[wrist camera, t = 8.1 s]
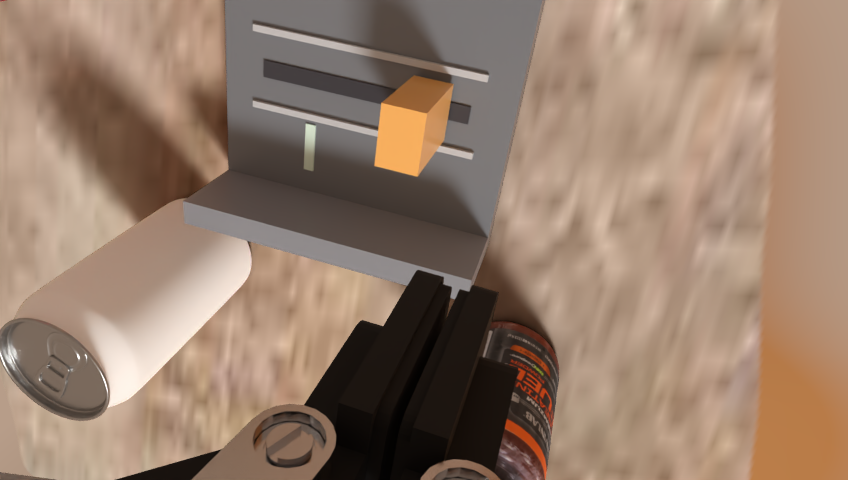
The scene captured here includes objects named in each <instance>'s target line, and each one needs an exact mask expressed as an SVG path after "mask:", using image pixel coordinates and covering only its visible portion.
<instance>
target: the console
mask: <svg viewBox="0 0 848 480" xmlns="http://www.w3.org/2000/svg"><path fill="white" fill-rule="evenodd" d="M544 3H545V0H225V28H226V73H227V118H228V163H229V170H228V171H226V172H225V173H223V174H222V175H220V176H219V177H217V178H216V179H215V180H213V181H212V182H210V183H209V184H207V185H206V186H204V187H203V188H201V189H200V190H198V191H197V192H196V193H194V194H193V195H191V196H190V197H188V198H187V199H185V200H184V201H183V208H184V223H186V224H189V225H193V226H196V227H200V228H203V229H207V230H210V231H214V232H218V233H221V234H225V235H228V236H232V237H235V238H239V239H242V240H246V241H250V242H253V243H257V244H260V245H264V246H267V247H271V248H274V249H278V250H282V251H285V252H289V253H292V254H296V255H299V256H303V257H306V258H310V259H313V260H317V261H321V262H324V263H328V264H331V265H335V266H338V267H342V268H345V269H349V270H353V271H356V272H360V273H363V274H367V275H370V276H374V277H377V278H381V279H385V280H388V281H392V282H395V283H399V284H402V285H406V286H407V285H408V284H409V282H410V280H411V279H412V277H413V275H414V274H415V272H416V271H417V270H421V271H425V272H428V273H432V274H435V275H439V276H442V277H444V283H443V284H444V285H448V286H451V287H452V292H451V297H450V298H452V299H455V298H456V296H457V294H458V292H459V290H460V289H462V290H465V291H470V288H471V286H472V285H474V282H475V279H476V277H477V274H478V271H479V269H480V266H481V263H482V261H483V258H484V256H485V253H486V250H487V248H488V245H489V241H490V237H491V232H492V228H493V224H494V219H495V215H496V211H497V206H498V202H499V198H500V193H501V189H502V185H503V180H504V176H505V172H506V167H507V163H508V159H509V154H510V150H511V146H512V141H513V137H514V133H515V128H516V124H517V120H518V115H519V111H520V107H521V102H522V98H523V94H524V89H525V85H526V81H527V76H528V72H529V68H530V63H531V59H532V55H533V50H534V46H535V42H536V37H537V33H538V29H539V24H540V20H541V16H542V11H543V7H544ZM414 75H415V76H420V77H424V78H429V79H433V80H438V81H442V82H446V83H451V84H454V85H453V91H452V97H451V103H450V109H449V115H448V121H447V126H446V132H445V138H444V141H443V142H442V144H441V145H440V147H439V148H438V149H437V151H436V152H435V153H434V155H433V156H432V158H431V159H430V160H429V162H428V163H427V164H426V166H425V167H424V168H423V170H422V171H421V173H420V174H419V175H418V177H417V176H413V175H409V174H405V173H401V172H397V171H393V170H389V169H385V168H381V167H377V166H374V165H375V156H376V147H377V138H378V128H379V119H380V110H381V103H382V102H383V101H384V100H385V99H387V98H388V97H389V96H390V95H391V94H392V93H394V92H395V91H396V90H397V89H398V88H400V87H401V86H402V85H403V84H404V83H405V82H407V81H408V80H409V79H410V78H411V77H413V76H414Z"/></svg>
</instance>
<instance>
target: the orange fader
mask: <svg viewBox="0 0 848 480" xmlns="http://www.w3.org/2000/svg"><path fill="white" fill-rule="evenodd" d="M453 85H454V84H451V83H446V82H442V81H438V80H433V79H429V78H424V77H420V76H415V75H414V76H413V77H411V78H410V79H409V80H408V81H407V82H405V83H404V84H403V85H402V86H401V87H400V88H398V89H397V90H396V91H395V92H394V93H392V94H391V95H390V96H389V97H388V98H387V99H385V100H384V101H383V102H382V103H381V110H380V119H379V128H378V138H377V147H376V156H375V165H374V166H377V167H381V168H385V169H389V170H393V171H397V172H401V173H405V174H409V175H413V176H417V177H418V175H419V174H420V173H421V171H422V170H423V168H424V167H425V166H426V164H427V163H428V162H429V160H430V159H431V158H432V156H433V155H434V153H435V152H436V151H437V149H438V148H439V147H440V145H441V144H442V142H443V141H444V138H445V132H446V126H447V121H448V115H449V109H450V103H451V97H452V91H453Z"/></svg>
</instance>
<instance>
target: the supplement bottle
mask: <svg viewBox="0 0 848 480" xmlns="http://www.w3.org/2000/svg"><path fill="white" fill-rule="evenodd" d="M483 357H485V358H488V359H492V360H495V361H498V362H501V363H505V364H508V365H511V366H515V367H518V374H517V378H516V382H515V386H514V391H513V395H512V399H511V404H510V408H509V412H508V416H507V421H506V425H505V429H504V433H503V438H502V442H501V446H500V450H499V455H498V459H497V463H496V467H495V472H494V473H495V474H496V475H497V476H498V478H499V479H500V480H545V478H546V472H547V465H548V456H549V450H550V443H551V434H552V426H553V419H554V411H555V405H556V397H557V389H558V382H559V365H558V361H557V358H556V355H555V353H554V351H553V349H552V348H551V346H550V345H549V344H548V343H547V341H546V340H545V339H544V338H543V337H542V336H540V335H539V334H538V333H536V332H535V331H533V330H531V329H529V328H527V327H525V326H522V325H520V324H517V323H512V322H508V321H507V322H505V321H503V322H502V321H496V322H491V326H490V330H489V334H488V338H487V342H486V346H485V350H484V354H483Z"/></svg>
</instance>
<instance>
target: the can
mask: <svg viewBox="0 0 848 480" xmlns="http://www.w3.org/2000/svg"><path fill="white" fill-rule="evenodd" d="M185 199H187V198H183V199H177V200H174V201H172V202H170V203H168V204H166V205H165V206H163V207H162V208H160V209H158V210H157V211H155V212H154V213H152V214H151V215H149V216H148V217H146V218H145V219H143V220H142V221H140V222H139V223H137V224H136V225H134V226H133V227H131V228H130V229H128V230H127V231H125V232H124V233H122V234H121V235H119V236H118V237H116V238H115V239H113V240H111V241H110V242H108V243H107V244H105V245H104V246H103V247H101V248H100V249H98V250H97V251H95V252H94V253H92V254H91V255H89V256H88V257H86V258H85V259H83V260H82V261H80V262H79V263H77V264H76V265H74V266H73V267H71V268H70V269H68V270H67V271H65V272H64V273H62V274H61V275H59V276H58V277H56V278H55V279H53V280H52V281H50V282H49V283H47V284H46V285H45V286H43V287H42V288H40V289H39V290H37V291H36V292H35V293H33V294H32V295H31V296H30V297H28V298H27V299H26V300H25V301H24V302H23V304H22V305H21V306H20V308H19V310H18V312H17V313H16V315H15V318H14V320H11V321H9V322H8V323H6V324H5V325H4V326H3V327H2V328H1V330H0V360H1V362H2V364H3V366H4V368H5V370H6V372H7V373H8V375H9V376H10V378H11V379H12V380H13V382H14V383H15V384H16V385H17V386H18V387H19V388H20V390H21V391H22V392H24V393H25V394H26V395H27V396H28V397H29V398H30V399H32V400H33V401H34V402H35V403H37V404H38V405H40V406H41V407H43V408H44V409H46V410H48V411H50V412H52V413H54V414H56V415H58V416H61V417H64V418H67V419H71V420H78V421H87V420H92V419H95V418H97V417H99V416H100V415H102V414H103V413H104V412H105V410H106V409H107V408H108V407H111V406H114V405H117V404H120V403H122V402H124V401H126V400H128V399H129V398H130V397H132V396H133V395H134V394H135V393H136V392H137V391H138V390H140V389H141V388H142V387H143V386H144V385H145V384H146V383H147V382H148V381H149V380H150V379H151V378H152V377H153V376H154V375H155V374H156V373H157V372H158V371H159V370H160V369H161V368H162V367H163V366H164V365H165V364H166V363H167V362H168V361H169V360H170V359H171V358H172V357H173V356H174V355H175V354H176V352H177V351H178V350H179V349H180V348H181V347H182V346H183V345H184V344H185V343H186V342H187V341H188V340H189V339H190V338H191V337H192V336H193V335H194V334H195V333H196V332H197V331H198V330H199V329H200V328H201V327H202V326H203V325H204V324H205V323H206V322H207V321H208V320H209V319H210V318H211V317H212V316H213V315H214V314H215V313H216V312H217V311H218V310H219V309H220V308H221V307H222V306H223V305H224V304H225V302H226V301H227V300H228V299H229V298H230V297H231V296H232V295H233V294H234V293H235V292H236V291H237V290H238V289H239V288H240V287H241V286H242V285H243V283H244V282H245V281H246V279H247V278H248V276H249V273H250V270H251V252H250V248H249V245H248V242H247V241H246V240H242V239H239V238H235V237H232V236H228V235H225V234H221V233H218V232H214V231H210V230H207V229H203V228H200V227H196V226H193V225H189V224H186V223H184V208H183V201H184V200H185Z"/></svg>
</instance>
